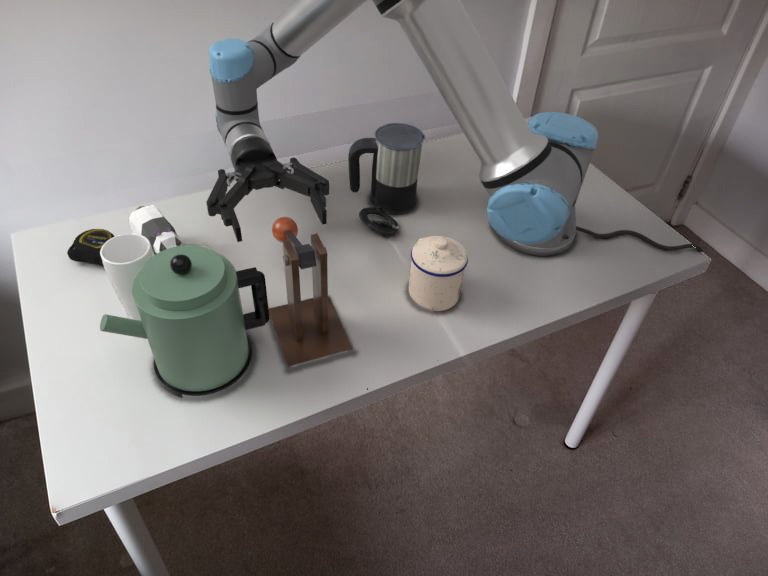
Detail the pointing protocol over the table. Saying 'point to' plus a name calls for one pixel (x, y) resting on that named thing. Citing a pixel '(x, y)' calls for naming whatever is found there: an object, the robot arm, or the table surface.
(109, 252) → the drinking glass
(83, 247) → the tape measure
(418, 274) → the teacup with lid
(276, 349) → the table surface
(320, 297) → the switch base
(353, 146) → the milk frother
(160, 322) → the kettle
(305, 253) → the switch lever
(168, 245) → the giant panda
